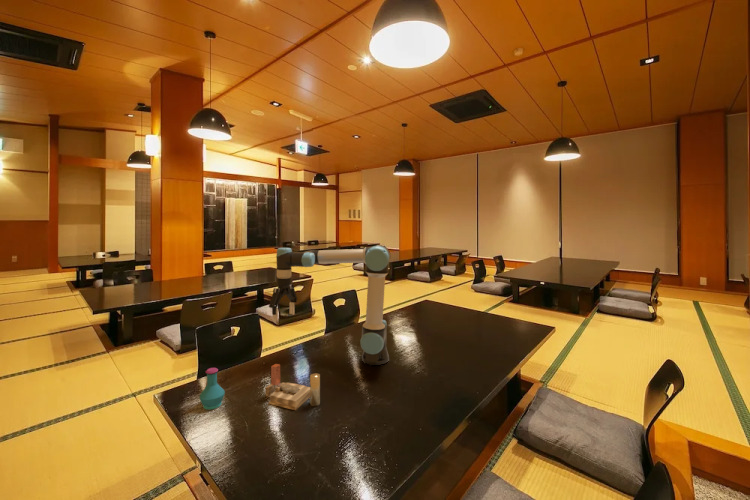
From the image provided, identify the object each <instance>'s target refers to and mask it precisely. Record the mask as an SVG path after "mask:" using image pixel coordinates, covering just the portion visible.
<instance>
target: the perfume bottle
mask: <svg viewBox="0 0 750 500" xmlns="http://www.w3.org/2000/svg"><path fill="white" fill-rule="evenodd" d="M218 371H219V369H218V368H217V367H210V368H207V370H205V374H206V381H207V382H206V384H207V385H206V386H205V388H204V389H203V390H202V391H201V392H200V395H199V400H200V402H201V405H202V407H203V409H204V410H215V409H217V408H219V407H220V406H221V405H222V402H223V400H224V397H225V395H226V394H225V393H226V391H225V389H224V388H222V387H221V386H220V384H219V383H218Z"/></svg>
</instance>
